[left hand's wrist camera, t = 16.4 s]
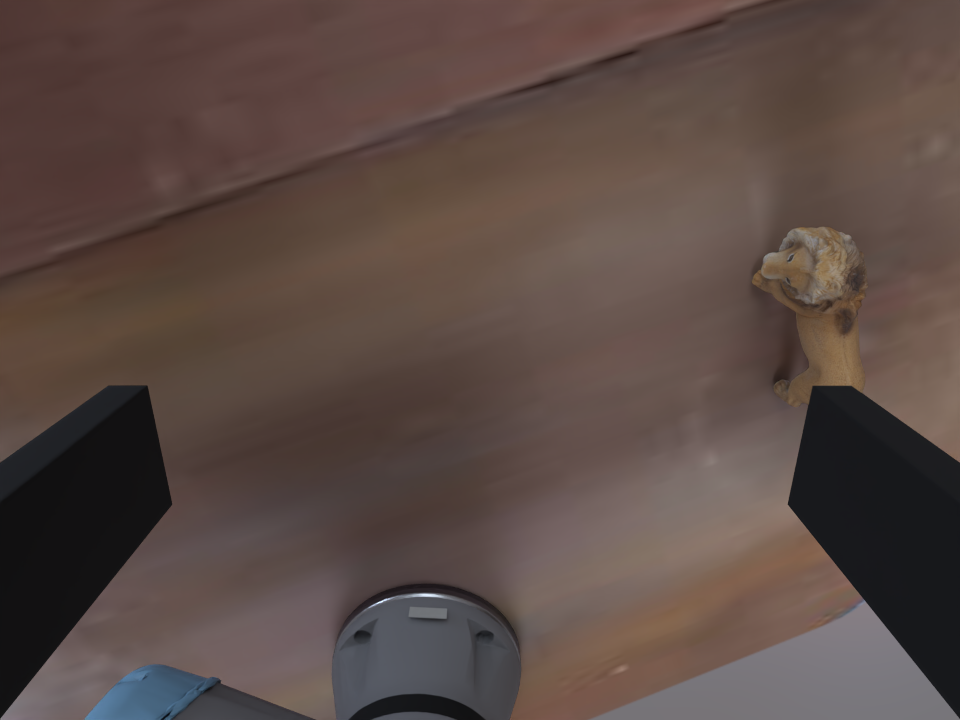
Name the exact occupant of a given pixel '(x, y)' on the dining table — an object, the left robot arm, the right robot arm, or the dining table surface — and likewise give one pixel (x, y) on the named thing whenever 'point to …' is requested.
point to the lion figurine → (819, 306)
